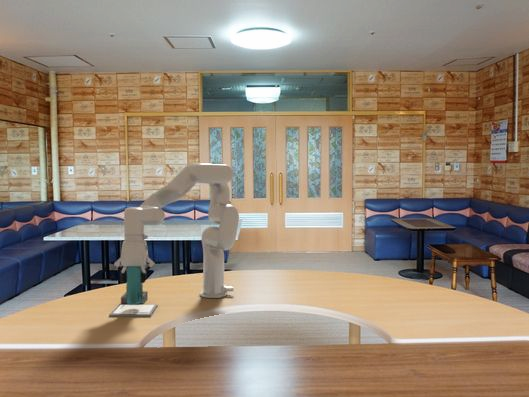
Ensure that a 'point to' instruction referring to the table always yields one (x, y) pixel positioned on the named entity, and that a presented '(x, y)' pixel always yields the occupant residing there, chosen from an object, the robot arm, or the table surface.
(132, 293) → the beverage bottle
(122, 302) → the button housing
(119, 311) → the drawing board
